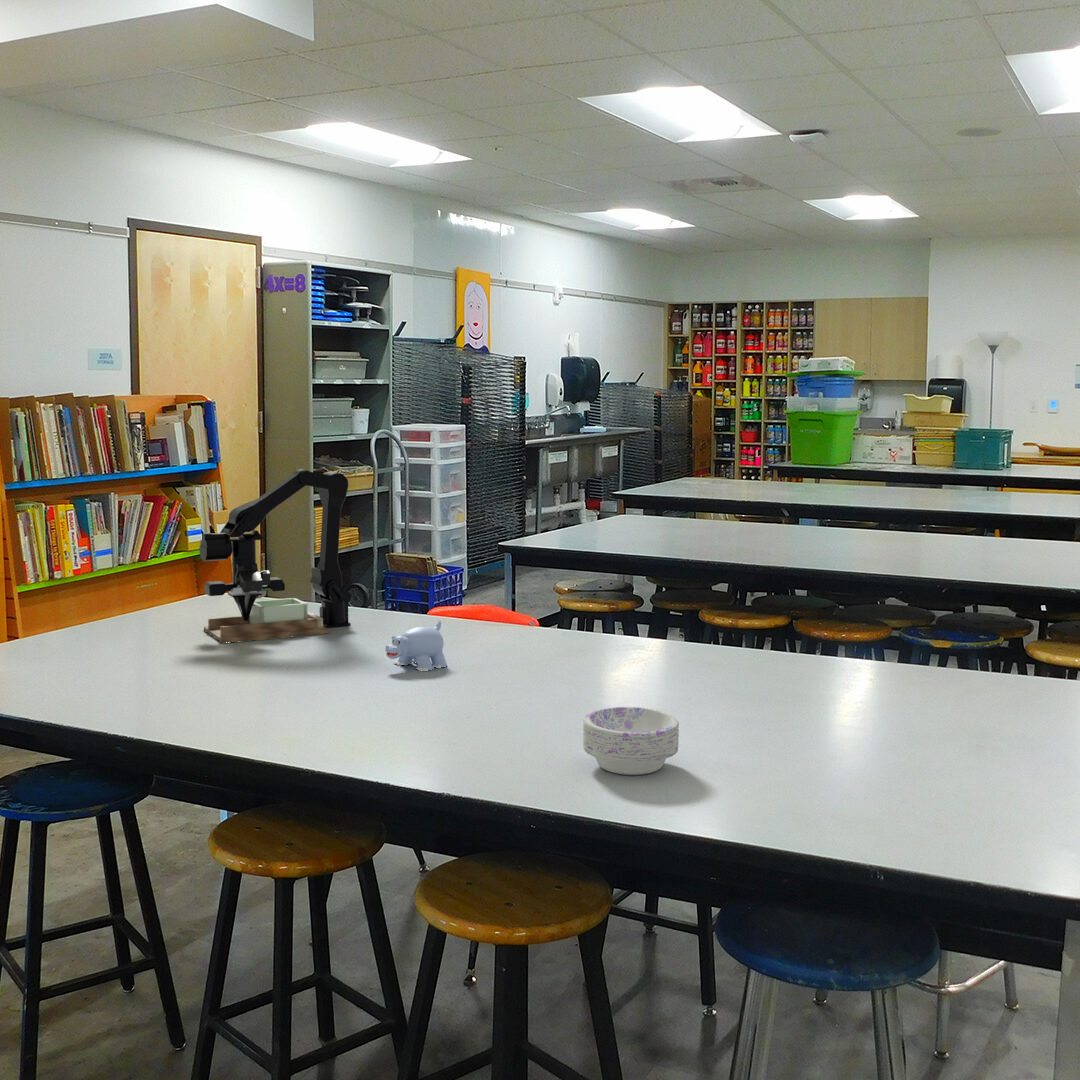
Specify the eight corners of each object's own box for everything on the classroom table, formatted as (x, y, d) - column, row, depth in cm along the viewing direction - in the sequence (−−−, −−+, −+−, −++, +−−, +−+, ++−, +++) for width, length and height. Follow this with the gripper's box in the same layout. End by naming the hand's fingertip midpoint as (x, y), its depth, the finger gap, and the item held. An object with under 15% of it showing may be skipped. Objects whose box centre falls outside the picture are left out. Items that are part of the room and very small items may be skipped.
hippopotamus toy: (373, 668, 251) (372, 625, 250) (425, 658, 261) (425, 616, 260) (405, 676, 243) (404, 632, 242) (457, 665, 254) (457, 623, 253)
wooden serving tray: (307, 621, 303) (307, 608, 303) (330, 633, 288) (330, 619, 288) (203, 630, 290) (203, 617, 290) (222, 643, 275) (221, 629, 274)
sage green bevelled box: (295, 620, 298) (294, 597, 297) (307, 627, 289) (307, 603, 288) (249, 624, 292) (248, 601, 291) (260, 631, 283) (260, 607, 282)
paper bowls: (639, 789, 173) (640, 737, 172) (563, 767, 183) (563, 718, 182) (696, 765, 184) (698, 717, 183) (621, 746, 194) (622, 700, 193)
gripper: (214, 565, 273) (216, 629, 274) (291, 560, 282) (292, 622, 284) (202, 559, 282) (204, 621, 284) (277, 554, 291) (278, 615, 293)
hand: (245, 620), depth 286 cm, fingers closed
